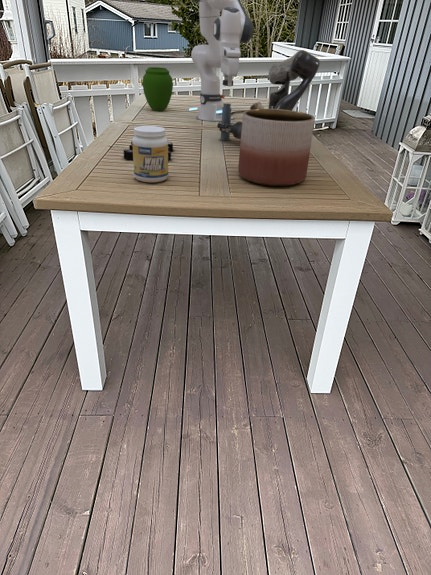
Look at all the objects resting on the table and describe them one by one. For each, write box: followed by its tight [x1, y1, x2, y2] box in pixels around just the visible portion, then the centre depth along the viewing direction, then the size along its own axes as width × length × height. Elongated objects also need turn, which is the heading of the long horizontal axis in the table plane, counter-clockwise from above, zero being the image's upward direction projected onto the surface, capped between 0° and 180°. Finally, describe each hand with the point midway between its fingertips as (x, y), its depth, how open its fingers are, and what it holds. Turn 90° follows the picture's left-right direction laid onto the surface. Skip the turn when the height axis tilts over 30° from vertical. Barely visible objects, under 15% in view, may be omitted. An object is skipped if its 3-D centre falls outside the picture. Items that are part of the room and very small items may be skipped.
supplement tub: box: [131, 125, 169, 183], centre depth 142 cm, size 12×12×17 cm
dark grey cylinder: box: [220, 102, 232, 142], centre depth 199 cm, size 4×4×17 cm
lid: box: [222, 79, 234, 87], centre depth 190 cm, size 5×5×2 cm
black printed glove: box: [123, 140, 174, 161], centre depth 177 cm, size 19×3×30 cm
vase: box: [141, 66, 174, 112], centre depth 261 cm, size 20×20×24 cm
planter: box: [237, 108, 316, 187], centre depth 148 cm, size 25×25×22 cm
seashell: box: [249, 101, 265, 110], centre depth 266 cm, size 10×6×8 cm, turn 97°
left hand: (227, 85), depth 191 cm, fingers closed on lid, 4 cm apart
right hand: (222, 124), depth 202 cm, fingers closed on dark grey cylinder, 4 cm apart
